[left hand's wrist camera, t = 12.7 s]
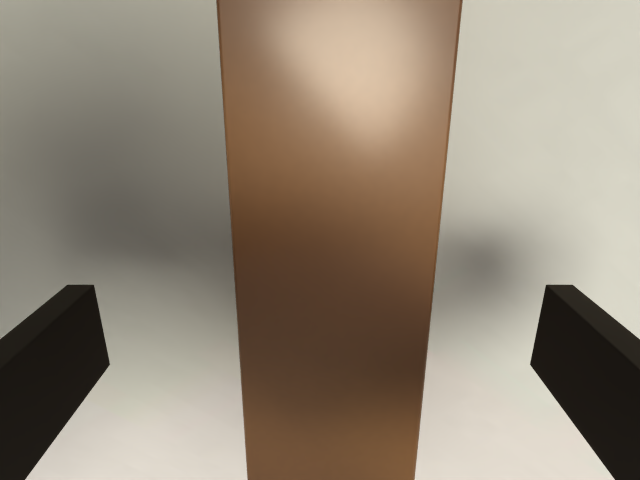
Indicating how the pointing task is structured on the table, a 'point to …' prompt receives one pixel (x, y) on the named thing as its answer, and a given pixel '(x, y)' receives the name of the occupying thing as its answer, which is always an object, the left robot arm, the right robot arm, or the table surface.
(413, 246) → the post
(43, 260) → the table surface
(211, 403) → the table surface
